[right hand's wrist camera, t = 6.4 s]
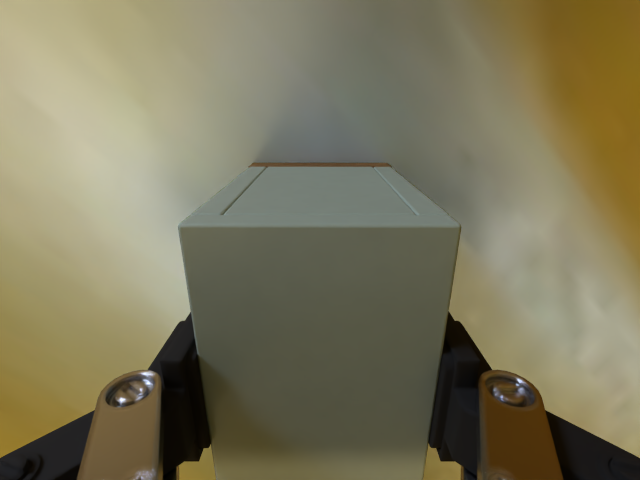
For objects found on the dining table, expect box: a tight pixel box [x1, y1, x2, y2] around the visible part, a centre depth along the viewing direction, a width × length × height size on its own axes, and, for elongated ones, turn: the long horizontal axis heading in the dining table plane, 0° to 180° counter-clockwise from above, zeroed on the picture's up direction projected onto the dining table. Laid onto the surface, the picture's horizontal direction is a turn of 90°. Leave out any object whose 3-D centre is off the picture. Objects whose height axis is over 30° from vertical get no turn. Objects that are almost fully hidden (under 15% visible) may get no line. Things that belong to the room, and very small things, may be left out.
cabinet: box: [178, 163, 461, 480], centre depth 15 cm, size 21×6×9 cm, turn 0°
